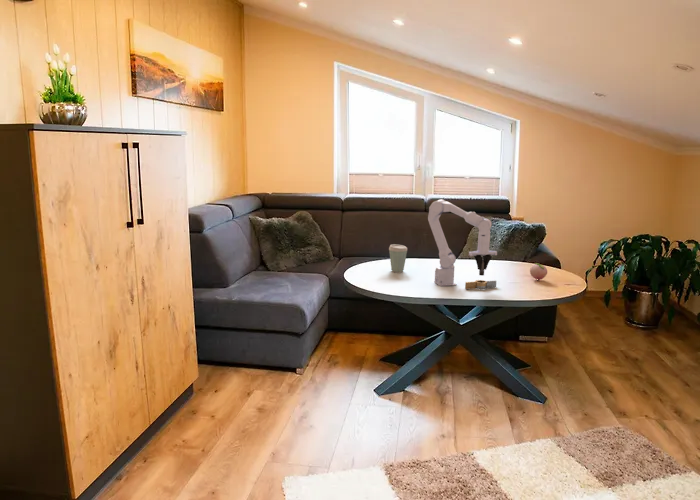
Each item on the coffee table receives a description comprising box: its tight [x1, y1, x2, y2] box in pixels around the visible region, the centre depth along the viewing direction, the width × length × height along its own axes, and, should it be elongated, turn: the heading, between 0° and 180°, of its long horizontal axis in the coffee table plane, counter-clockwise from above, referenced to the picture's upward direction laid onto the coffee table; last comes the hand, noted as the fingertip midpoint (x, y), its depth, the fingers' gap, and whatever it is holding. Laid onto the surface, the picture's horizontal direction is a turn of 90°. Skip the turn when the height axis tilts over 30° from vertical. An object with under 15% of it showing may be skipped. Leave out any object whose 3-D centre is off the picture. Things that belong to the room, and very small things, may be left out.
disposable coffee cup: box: [388, 243, 408, 274], centre depth 313 cm, size 11×11×15 cm
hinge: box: [464, 279, 497, 291], centre depth 283 cm, size 17×6×4 cm, turn 104°
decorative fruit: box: [529, 262, 548, 281], centre depth 299 cm, size 9×8×10 cm
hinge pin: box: [478, 259, 485, 276], centre depth 281 cm, size 2×2×8 cm
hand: (481, 269), depth 281 cm, fingers closed on hinge pin, 2 cm apart
